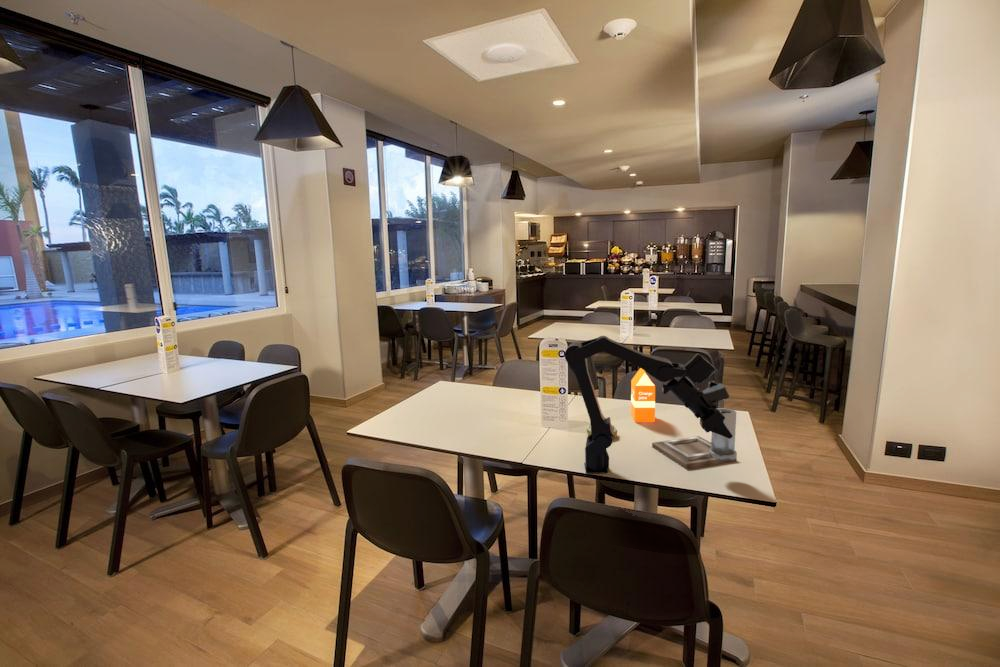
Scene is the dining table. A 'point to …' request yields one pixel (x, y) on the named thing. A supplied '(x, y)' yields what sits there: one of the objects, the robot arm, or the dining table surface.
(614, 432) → the decorated donut
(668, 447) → the bronze base
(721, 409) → the silver metal cup
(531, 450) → the dining table surface
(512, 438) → the dining table surface
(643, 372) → the orange juice
